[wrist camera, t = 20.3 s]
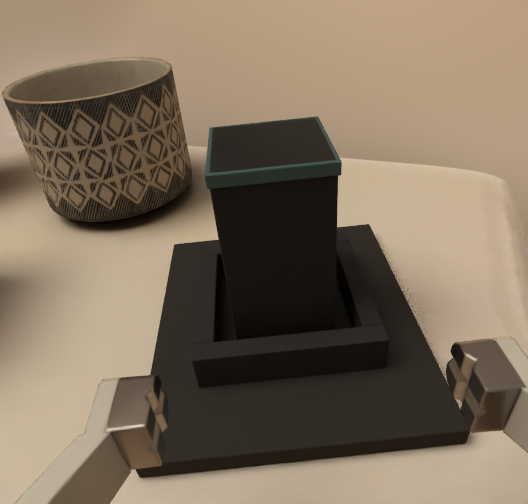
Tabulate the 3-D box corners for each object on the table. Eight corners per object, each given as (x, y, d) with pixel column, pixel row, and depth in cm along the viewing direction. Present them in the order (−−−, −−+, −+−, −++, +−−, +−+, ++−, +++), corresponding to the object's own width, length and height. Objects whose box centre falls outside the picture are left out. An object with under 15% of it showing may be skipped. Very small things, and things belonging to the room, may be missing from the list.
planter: (94, 252, 32) (40, 114, 26) (32, 201, 40) (-21, 85, 34) (222, 188, 39) (203, 66, 33) (148, 154, 47) (121, 51, 41)
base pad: (466, 443, 18) (481, 401, 16) (139, 478, 18) (119, 440, 16) (368, 235, 31) (371, 199, 29) (176, 255, 31) (168, 220, 29)
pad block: (336, 341, 22) (341, 161, 16) (236, 352, 22) (204, 175, 16) (319, 277, 26) (318, 115, 20) (234, 286, 26) (209, 127, 20)
